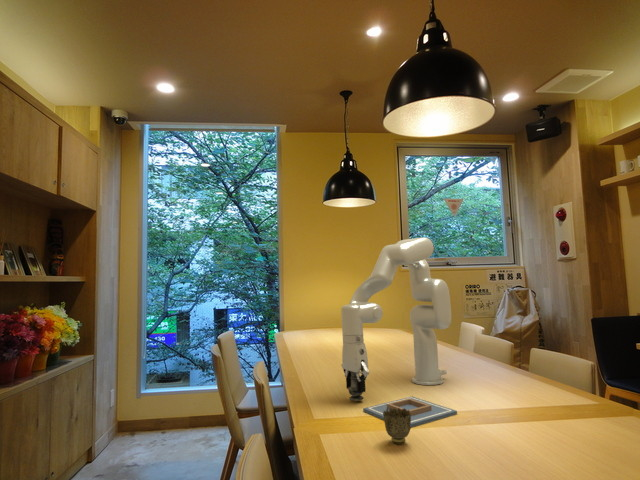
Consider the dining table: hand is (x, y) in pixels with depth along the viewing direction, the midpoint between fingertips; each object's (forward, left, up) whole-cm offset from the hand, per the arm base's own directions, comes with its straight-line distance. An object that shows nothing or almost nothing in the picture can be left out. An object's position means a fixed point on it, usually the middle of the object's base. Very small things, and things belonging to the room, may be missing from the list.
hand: (355, 389), depth 146 cm
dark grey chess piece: (0, 0, -3) cm, 3 cm away
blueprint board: (-6, +20, -4) cm, 21 cm away
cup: (+13, +36, -4) cm, 38 cm away
